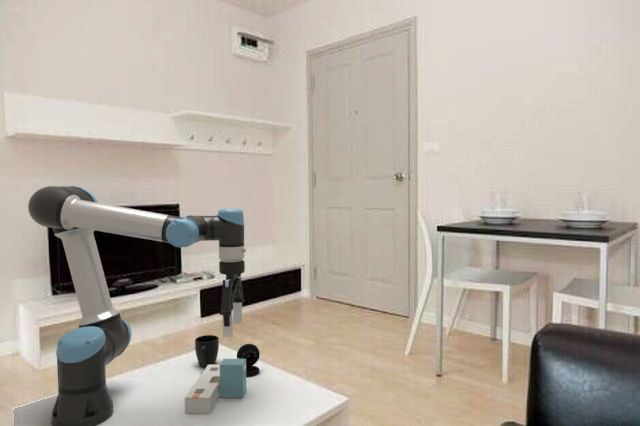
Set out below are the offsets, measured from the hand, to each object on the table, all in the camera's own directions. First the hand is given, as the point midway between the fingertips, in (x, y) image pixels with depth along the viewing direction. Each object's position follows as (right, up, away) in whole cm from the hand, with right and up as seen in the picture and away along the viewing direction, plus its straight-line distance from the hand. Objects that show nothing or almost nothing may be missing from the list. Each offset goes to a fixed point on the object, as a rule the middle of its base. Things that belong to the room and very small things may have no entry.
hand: (233, 329), depth 137 cm
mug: (-14, -19, +23) cm, 33 cm away
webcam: (+2, -20, +17) cm, 26 cm away
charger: (-2, -20, +1) cm, 20 cm away
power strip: (-7, -20, +5) cm, 22 cm away
